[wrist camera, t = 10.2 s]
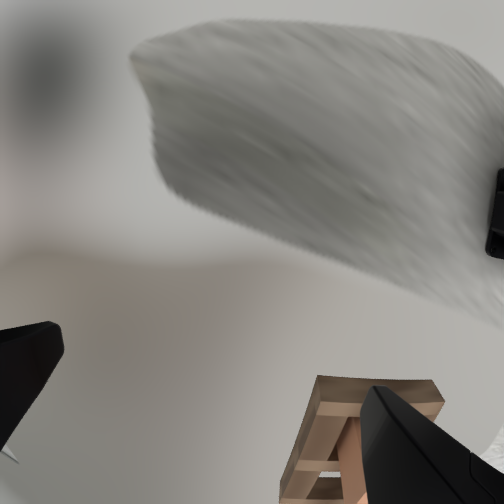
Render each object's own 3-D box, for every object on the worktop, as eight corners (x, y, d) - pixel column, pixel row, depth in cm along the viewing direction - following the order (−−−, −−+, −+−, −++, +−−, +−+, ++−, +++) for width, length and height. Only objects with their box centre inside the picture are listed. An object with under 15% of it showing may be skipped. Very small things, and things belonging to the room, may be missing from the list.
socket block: (433, 379, 20) (448, 403, 17) (371, 482, 24) (376, 503, 20) (317, 375, 21) (321, 403, 17) (280, 481, 24) (278, 505, 21)
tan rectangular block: (393, 398, 21) (425, 481, 12) (376, 431, 22) (397, 510, 13) (348, 397, 21) (368, 489, 12) (334, 430, 22) (345, 516, 13)
